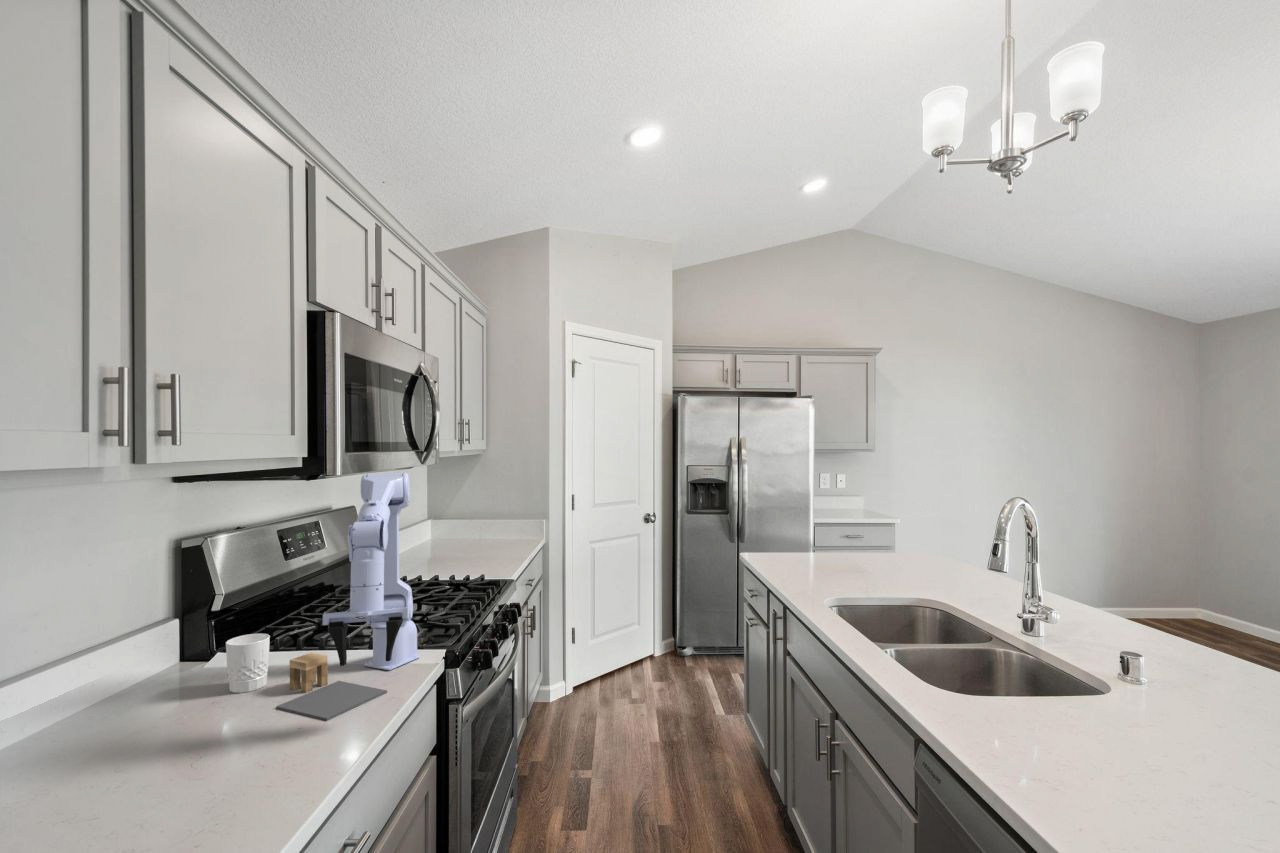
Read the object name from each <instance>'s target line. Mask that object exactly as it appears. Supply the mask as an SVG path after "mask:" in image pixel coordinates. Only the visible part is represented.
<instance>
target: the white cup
mask: <svg viewBox="0 0 1280 853" xmlns="http://www.w3.org/2000/svg"><path fill="white" fill-rule="evenodd" d="M270 638H271V635H269V633H250V634H243V635H239V636H235V637H232V638H230V639H227V641H225V653H226V654H225V655H226V668H227V669H226V670H227V678H228V681H229V682H228V684H229V692H231V693H234V694H235V693H236V694H243V693H249V692H253V691H257V690H260V689H261V688H264V687H266V685H267V684H268V671H269V663H270V662H269V661H270V643H271V642H270V641H271V640H270Z"/></svg>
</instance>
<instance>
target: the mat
mask: <svg viewBox="0 0 1280 853" xmlns="http://www.w3.org/2000/svg"><path fill="white" fill-rule="evenodd" d="M387 693H388V690H387V689H383V688H377V687H371V686H367V685H363V684H358V683H357V684H356V683H352V682H346V681H341V680H337V681H334V682H332V683H330V684H327V685H324V686H321V687H320V688H317V689H314V690H312V691H310V692H307V693H305V694H303V695H300V696H297V697H296V698H292V699H291V700H288V701H286V702H284V703H281V704H279V705H278V704H277V705H276V709H278V710H282V711H285V712H290V713H292V714H293V713H294V714H298V715H303V716H307V717H310V718H313V719H319V720H322V721H323V720H324V721H329V720H331V719H333V718H336V717H338V716H340V715H342V714H344V713H346V712H349V711H351V710H353V709H355V708H357V707H359V706H361V705H363V704H366V703H368V702H369V701H373V700H374V699H376V698H378V697H381V696H383V695H385V694H387Z"/></svg>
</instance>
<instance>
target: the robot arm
mask: <svg viewBox="0 0 1280 853" xmlns="http://www.w3.org/2000/svg"><path fill="white" fill-rule="evenodd" d="M410 482H411V481H410V475H409V474H408V473H407V472H399V473H398V472H397V473H395V472H393V473H391V472H390V473H370V474H369V473H363V475H362V476H361V480H360V497H361V499H362V500H363V502H364V503H363V504H362V505H361V507H360V509H359V513H358V515H357V518H356V521H354V522H353V524H350V525H349V527H348V530H347V531H348V532H347V547H348V559H349V562H350V597H349V598H350V599H349V610H347V611H339V612H337V611H336V612H328V613H326V612H325V613H323V614H322V626H328V627H327V630H328V633H329V635H330V637H331V639H332V642H333V644H334V645H335V649H336V652H337V656H338V660H339V666H340V667H343V666H346V665H347V658H348V656H347V655H348V654H347V653H348V652H347V636H348V628H349V624H350V623H362V622H366V623H367V625H370V628H371V629H372V658H373V659H372V660H370V661H368V662H365V663H364V667H369V668H374V669H379V670H384V671H391V670H394V669H396V668H398V667H401V666H403V665H405V664H408V663H410V662H412V661H415V660H416V659H419V658H421V655H419V654H418V629H417V626H416V624H415V622H414V621H413V620H412V618H413V613H414V604H413V603H414V600H413V599H414V598H413V591H412V590H413V589H412V588H411V585H410V584H408V583H406V582H404V581H403V580H401V579H400V515H401V510H403V509H406V508H407V507H409V506H410V505H409V503H410V499H411V498H410V496H411V495H410V494H411V492H410V488H411V486H410V484H411V483H410ZM358 617H359V618H358ZM360 617H363V618H360Z"/></svg>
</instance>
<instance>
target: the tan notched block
mask: <svg viewBox="0 0 1280 853" xmlns="http://www.w3.org/2000/svg"><path fill="white" fill-rule="evenodd" d="M328 672H329V671H328V655H326V654H322V653H321V654H320V653H315V652H309V653H306V654H303V655H300V656H297V657H294V658H292V659H291V658H290V659H289V690H292V691H296V690H298V689H301V693H305V694H307V693H310V692H312V691H313V684H314V683H316V685H317V686H318V687H325V686H327V685H329V684H328V682H329V681H328V679H329V678H328Z"/></svg>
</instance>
